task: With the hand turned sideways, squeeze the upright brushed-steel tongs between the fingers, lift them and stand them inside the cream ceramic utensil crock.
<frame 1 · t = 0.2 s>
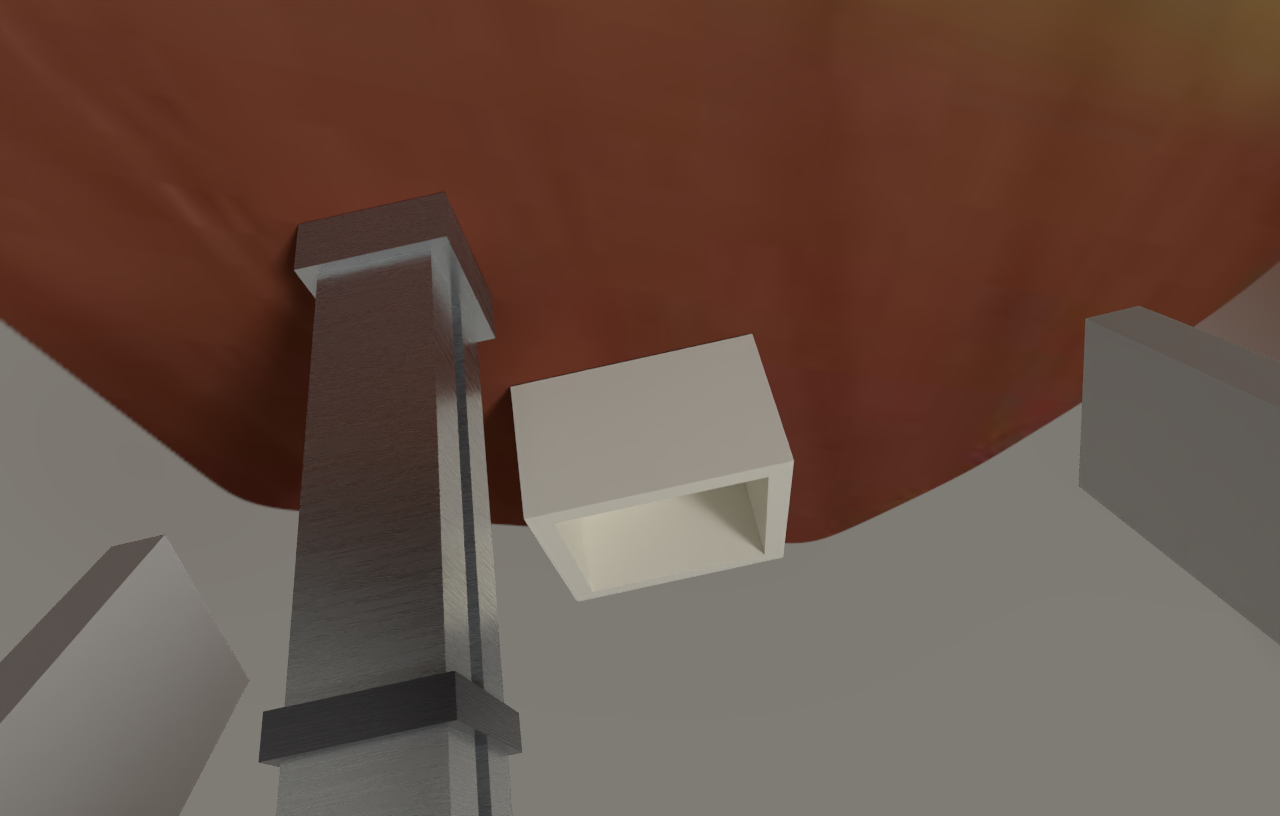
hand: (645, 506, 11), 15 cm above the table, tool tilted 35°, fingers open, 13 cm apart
tongs: (402, 263, 26), on the table
crock: (645, 422, 38), on the table
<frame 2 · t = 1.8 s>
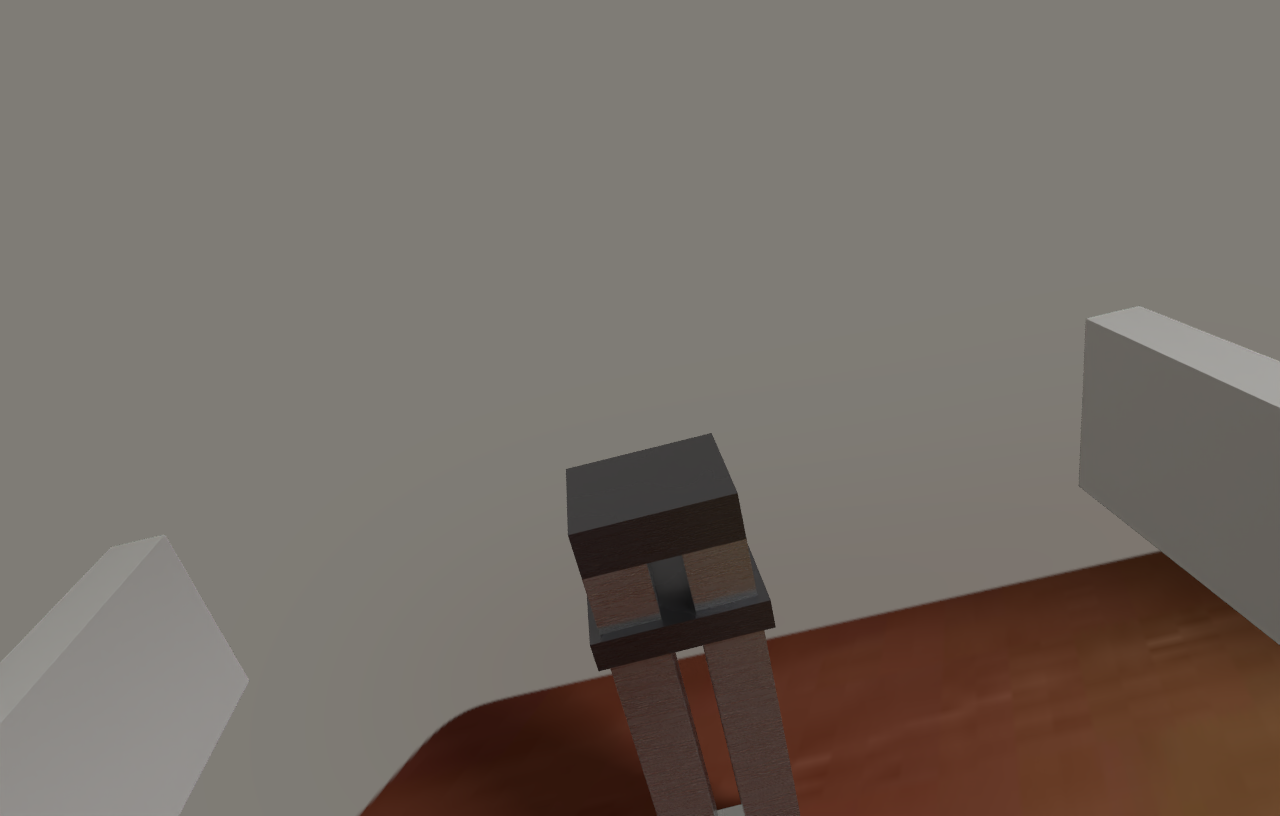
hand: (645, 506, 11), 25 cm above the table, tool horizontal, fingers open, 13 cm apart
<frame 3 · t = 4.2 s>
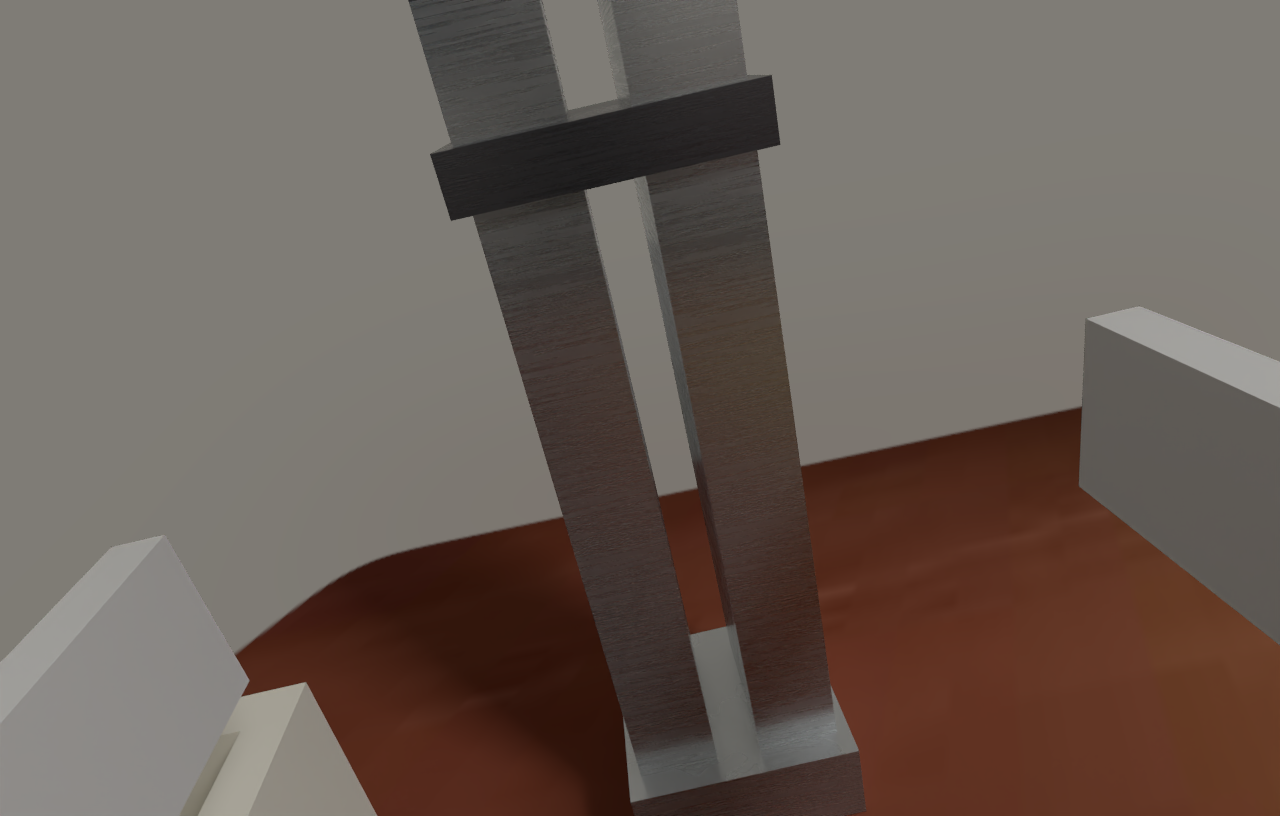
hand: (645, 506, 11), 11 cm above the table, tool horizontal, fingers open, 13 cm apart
tongs: (736, 750, 20), on the table
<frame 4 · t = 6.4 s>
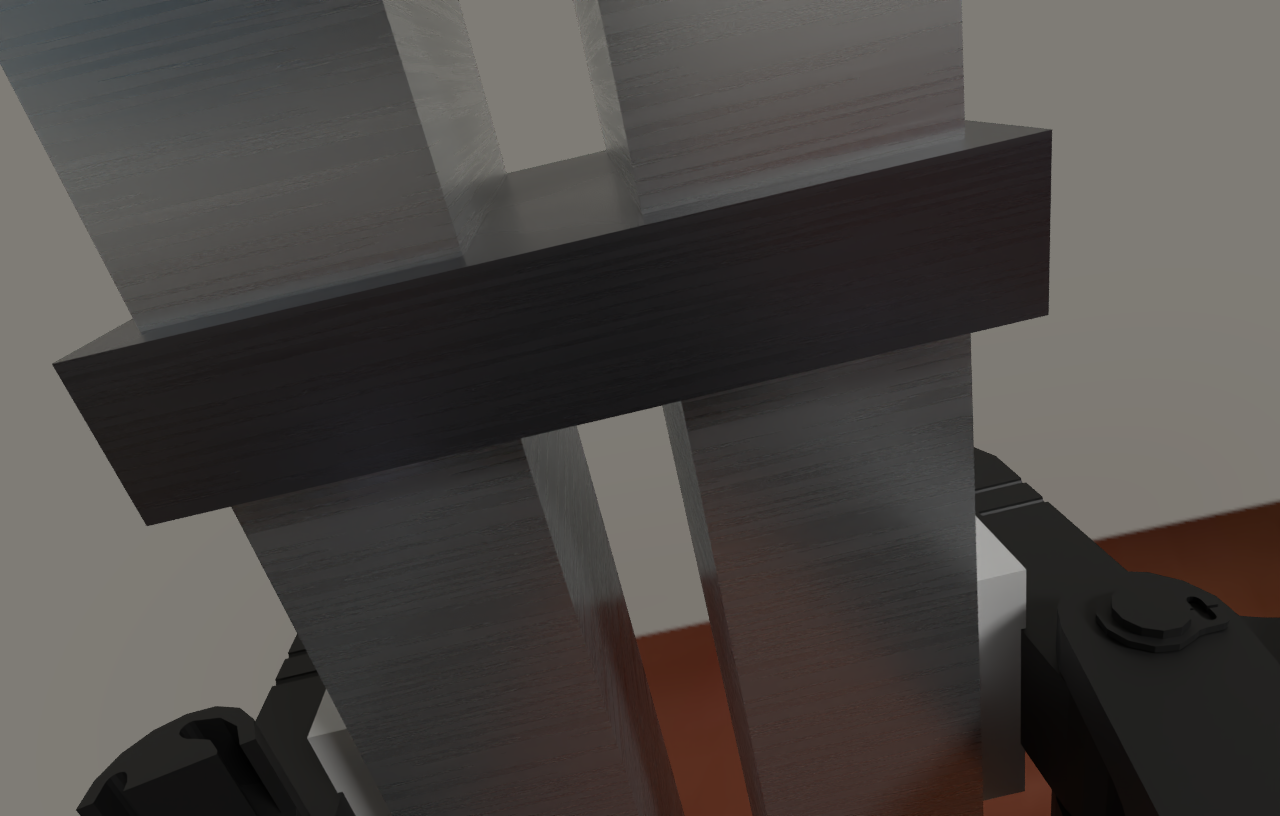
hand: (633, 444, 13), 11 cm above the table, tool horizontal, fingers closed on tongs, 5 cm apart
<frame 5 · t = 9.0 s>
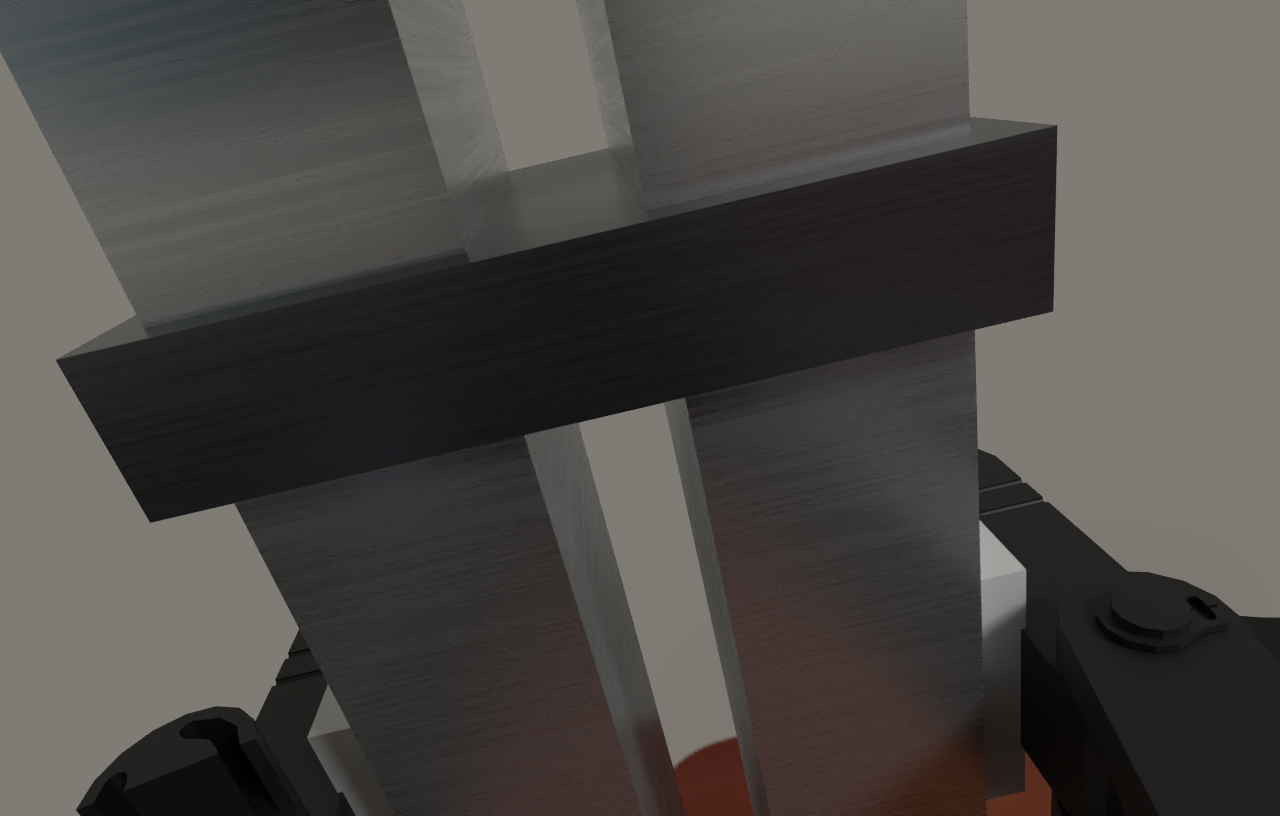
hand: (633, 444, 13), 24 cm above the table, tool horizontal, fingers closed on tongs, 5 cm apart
when the fingers open (13 cm above the table, at t = 11.7 s): tongs drops 1 cm, resting on crock.
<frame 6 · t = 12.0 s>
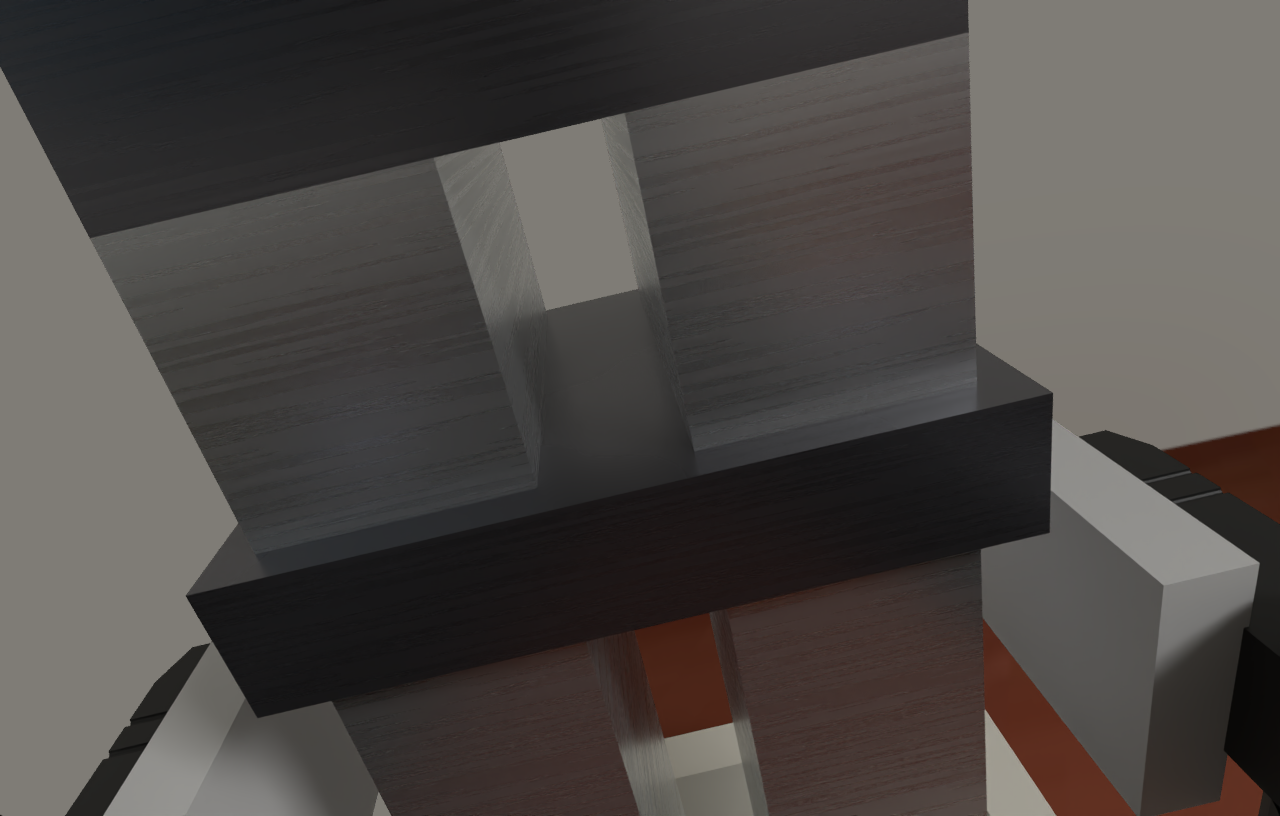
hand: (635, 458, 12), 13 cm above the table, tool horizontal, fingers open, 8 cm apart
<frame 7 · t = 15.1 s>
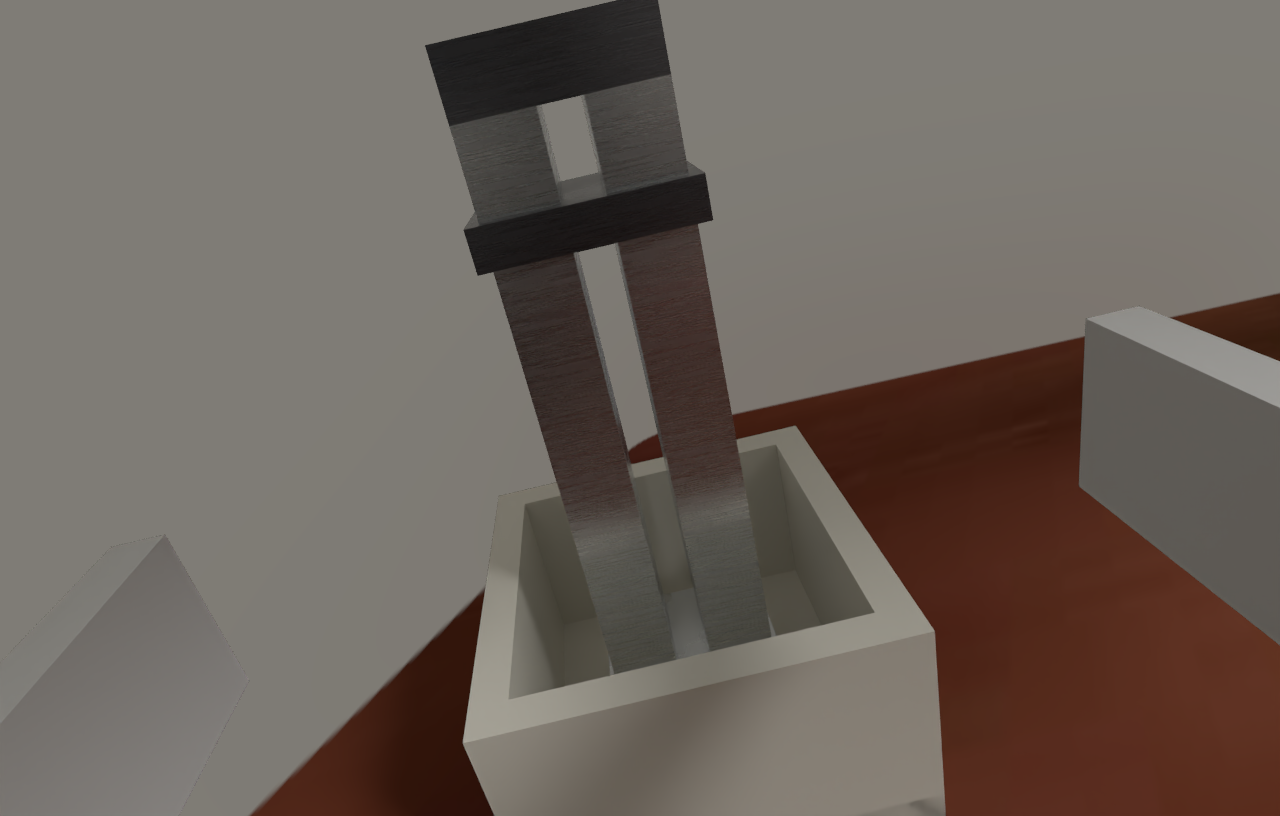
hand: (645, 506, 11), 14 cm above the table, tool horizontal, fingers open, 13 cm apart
tongs: (700, 686, 24), point 1 cm above the table, touching crock
crock: (705, 707, 25), on the table
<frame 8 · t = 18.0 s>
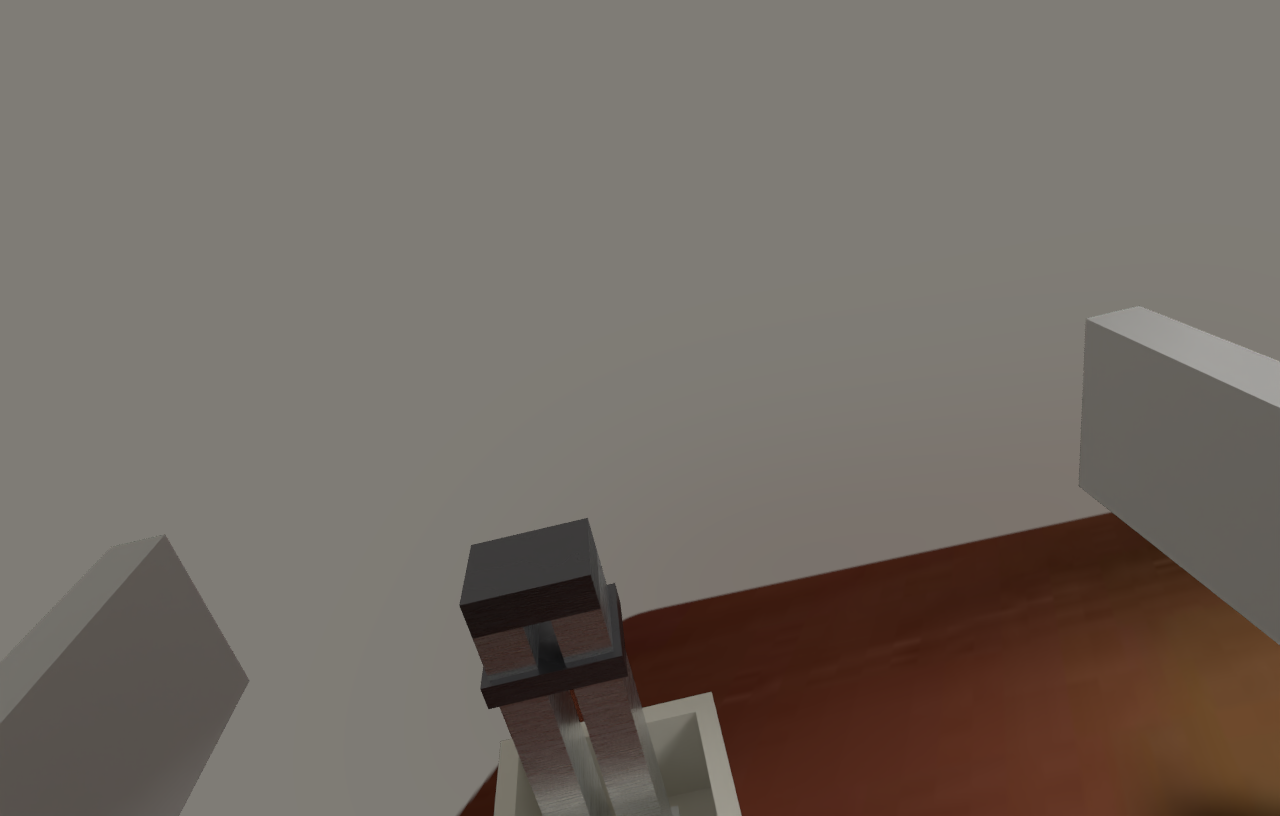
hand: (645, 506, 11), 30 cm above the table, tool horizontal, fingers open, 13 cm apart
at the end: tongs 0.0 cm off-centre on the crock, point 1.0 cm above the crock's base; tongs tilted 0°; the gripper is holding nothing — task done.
